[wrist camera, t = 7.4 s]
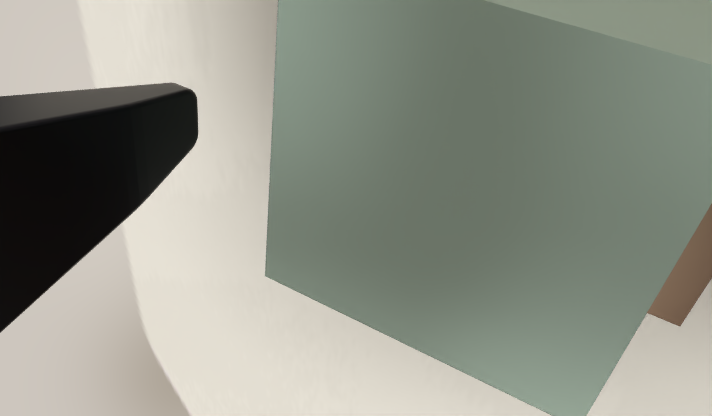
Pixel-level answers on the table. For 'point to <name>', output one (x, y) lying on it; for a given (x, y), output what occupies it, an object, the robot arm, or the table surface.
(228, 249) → the table surface
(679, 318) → the walnut base
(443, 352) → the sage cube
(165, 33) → the table surface
